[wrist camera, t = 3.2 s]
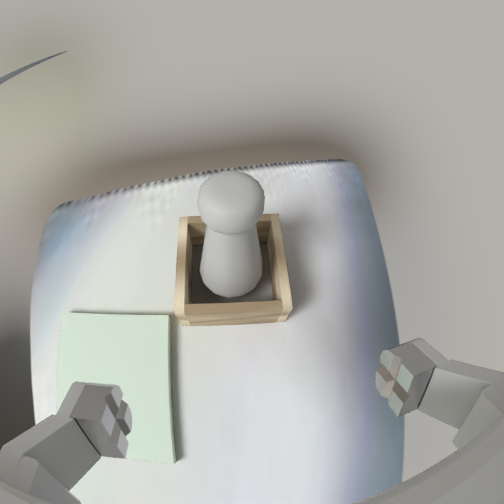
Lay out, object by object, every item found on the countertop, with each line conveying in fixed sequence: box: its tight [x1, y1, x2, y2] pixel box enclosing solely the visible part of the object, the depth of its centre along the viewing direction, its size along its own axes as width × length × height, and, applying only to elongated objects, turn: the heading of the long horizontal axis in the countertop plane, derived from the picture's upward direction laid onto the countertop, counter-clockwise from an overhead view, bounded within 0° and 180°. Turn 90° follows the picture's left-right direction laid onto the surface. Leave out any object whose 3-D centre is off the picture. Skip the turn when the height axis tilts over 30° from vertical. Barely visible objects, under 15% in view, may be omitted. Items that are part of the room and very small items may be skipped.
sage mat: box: [57, 312, 176, 464], centre depth 21 cm, size 14×12×1 cm
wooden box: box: [175, 214, 293, 326], centre depth 26 cm, size 10×10×4 cm
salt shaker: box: [197, 171, 265, 298], centre depth 22 cm, size 6×6×13 cm
